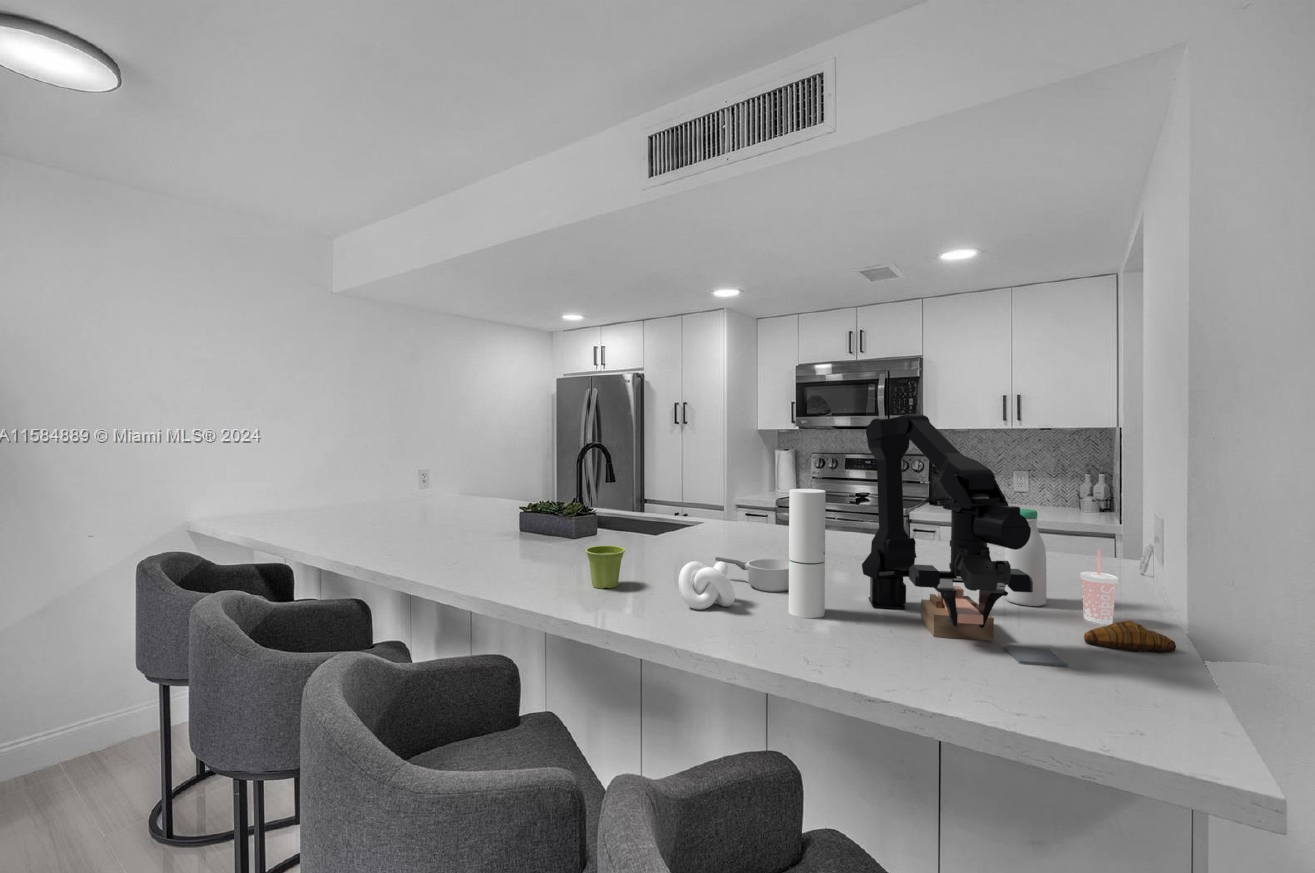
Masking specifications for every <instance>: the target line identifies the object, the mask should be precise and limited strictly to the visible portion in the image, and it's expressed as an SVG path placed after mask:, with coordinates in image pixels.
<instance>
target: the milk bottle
mask: <svg viewBox="0 0 1315 873" xmlns="http://www.w3.org/2000/svg"><path fill="white" fill-rule="evenodd" d="M1020 515H1022V516H1024V517H1025V518H1026V520H1027V521H1028V523H1029V527H1030V528H1031V534H1030V538H1029V540H1028V542H1027V544H1026V545H1025V546H1024V547H1022V548H1020V549H1017V550H1014V549H1009V548H1005V547H1004V561H1008V562H1009V564H1010V565H1011V569H1019V570H1021V571H1023V572H1024V573H1026V574H1028V575H1029V576H1030V577H1031V578H1032V581H1033V592H1014V591H1012V590H1011V589H1010V588H1009V587H1008V585H1006V587H1005V591H1006V592H1008V595H1007V596H1004V598H1005V600H1006V601H1007V602H1010V603H1011V604H1016V605H1021V606H1027V607H1041V606H1045V605H1046V603H1047V551H1046V546H1045V543H1044V540H1043V538H1042V536H1041V534H1040V532H1039V529H1038V526H1037V521H1038V511H1037V510H1035V509H1031V508H1020Z"/></svg>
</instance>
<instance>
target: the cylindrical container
mask: <svg viewBox="0 0 1315 873" xmlns="http://www.w3.org/2000/svg"><path fill="white" fill-rule="evenodd" d="M788 493H789V494H788V495H789V497H788V499H789V506H788V507H789V508H788V513H789V514H788V517H789V518H788V519H789V521H788V535H789V536H788V561H789V589H788V613H789V614H790V615H791V616H794V617H797V618H800V619H801V618H803V619H819V618H822V617H824V616H825V614H826V613H825V611H826V609H825V607H826V606H825V605H826V604H825V603H826V602H825V599H826V597H825V596H826V595H825V594H826V593H825V592H826V586H825V585H826V490H824V489H819V488H818V489H817V488H816V489H815V488H793V489H792V488H791V489H789V492H788Z"/></svg>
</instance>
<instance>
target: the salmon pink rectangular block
mask: <svg viewBox="0 0 1315 873" xmlns="http://www.w3.org/2000/svg"><path fill="white" fill-rule="evenodd" d="M955 600H956V611H957V622H958V623H967V624H983V615H982V614H981V613H980V612H979V611H978V610H977V609H976V608H975V607H974V606H973V605H972V604H971V603H970V602H968V601H967V600H966V599H957V598H955ZM943 607H944V608H945V609H946V610H947V607H946V604H945V602H944V599H943ZM947 611H948V610H947Z"/></svg>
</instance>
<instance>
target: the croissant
mask: <svg viewBox="0 0 1315 873" xmlns="http://www.w3.org/2000/svg"><path fill="white" fill-rule="evenodd" d="M1083 640H1084V642H1085V643H1086V644H1089V645H1093V646H1096V647H1097V646H1098V647H1102V648H1103V647H1104V648H1110V649H1119V650H1124V651H1125V650H1126V651H1131V652H1154V653H1164V652H1166V653H1169V652H1174V651H1176V648H1177V645H1176V642H1175V640H1173V639H1171V638H1170V637H1168V636H1166V635H1164V634H1161V633H1160V632H1157V631H1154V630H1151V629H1148V628H1146V627H1145V626H1143V625H1142V624H1139V623H1137V622H1134V621H1132V620H1123V621H1119V622H1118V621H1117V622H1112V624H1108V625H1103V626H1100V627H1096V628H1092V629H1090V630H1088V631H1086V632H1084V635H1083Z"/></svg>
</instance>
